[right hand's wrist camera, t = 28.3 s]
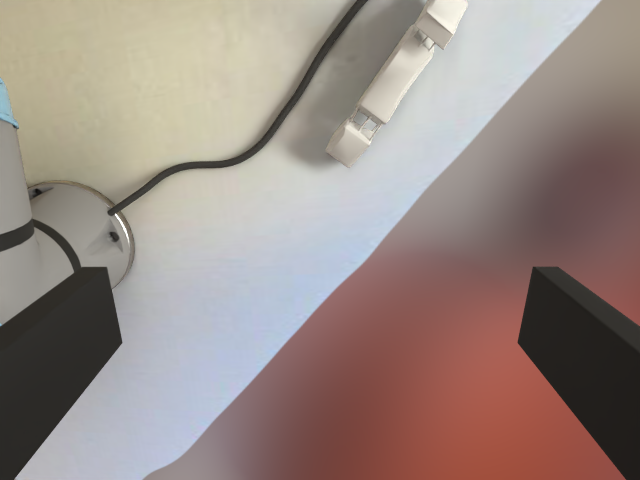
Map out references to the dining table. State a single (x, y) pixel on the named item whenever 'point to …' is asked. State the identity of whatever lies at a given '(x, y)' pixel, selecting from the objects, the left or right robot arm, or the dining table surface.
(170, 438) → the dining table surface
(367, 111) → the white segmented figure
